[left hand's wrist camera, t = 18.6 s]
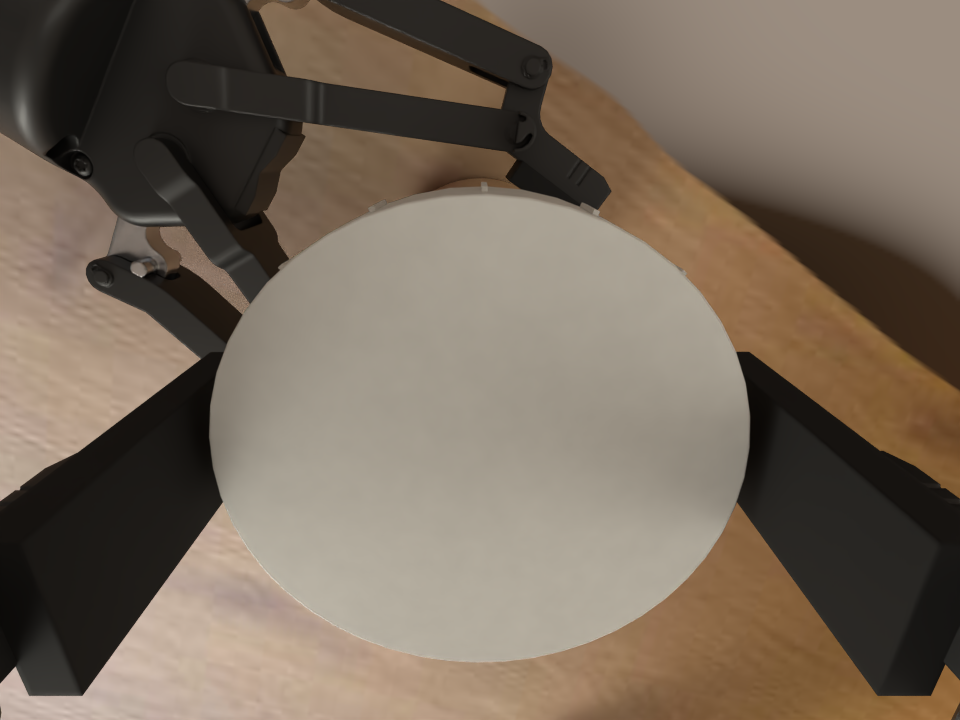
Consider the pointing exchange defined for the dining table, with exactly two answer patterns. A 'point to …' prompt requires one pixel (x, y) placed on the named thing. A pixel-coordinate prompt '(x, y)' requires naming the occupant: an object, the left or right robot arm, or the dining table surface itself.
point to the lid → (479, 426)
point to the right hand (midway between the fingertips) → (572, 372)
